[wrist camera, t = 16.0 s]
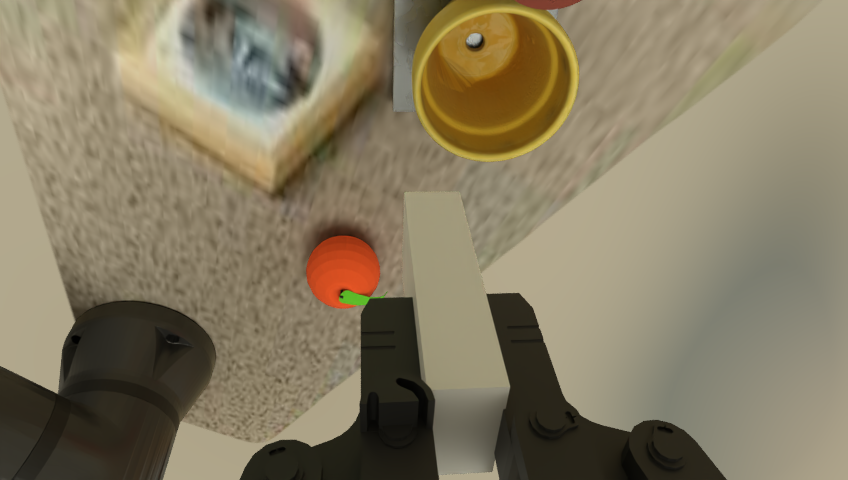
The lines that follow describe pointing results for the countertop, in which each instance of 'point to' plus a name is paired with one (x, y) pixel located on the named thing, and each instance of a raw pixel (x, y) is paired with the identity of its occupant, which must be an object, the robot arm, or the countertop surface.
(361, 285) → the clementine
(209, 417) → the countertop surface
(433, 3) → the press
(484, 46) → the plant pot
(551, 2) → the ram
